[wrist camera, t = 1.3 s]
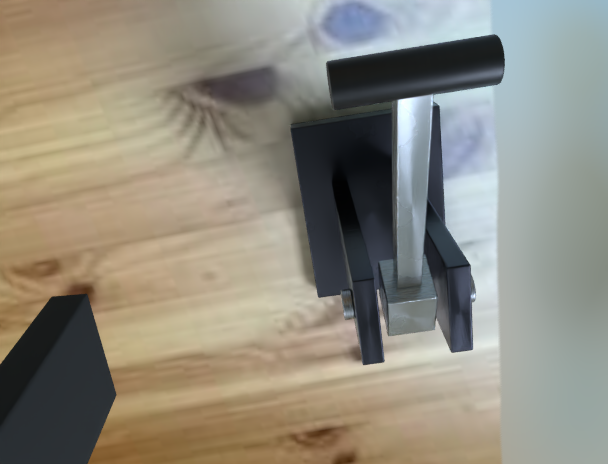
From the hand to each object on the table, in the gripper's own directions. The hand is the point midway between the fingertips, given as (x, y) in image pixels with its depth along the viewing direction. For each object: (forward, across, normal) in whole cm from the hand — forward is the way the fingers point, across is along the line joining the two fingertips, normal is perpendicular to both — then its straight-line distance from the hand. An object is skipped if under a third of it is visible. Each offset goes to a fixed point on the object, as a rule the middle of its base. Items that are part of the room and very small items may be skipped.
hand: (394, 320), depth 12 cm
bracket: (+24, +2, -7) cm, 25 cm away
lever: (+11, +2, -1) cm, 11 cm away
